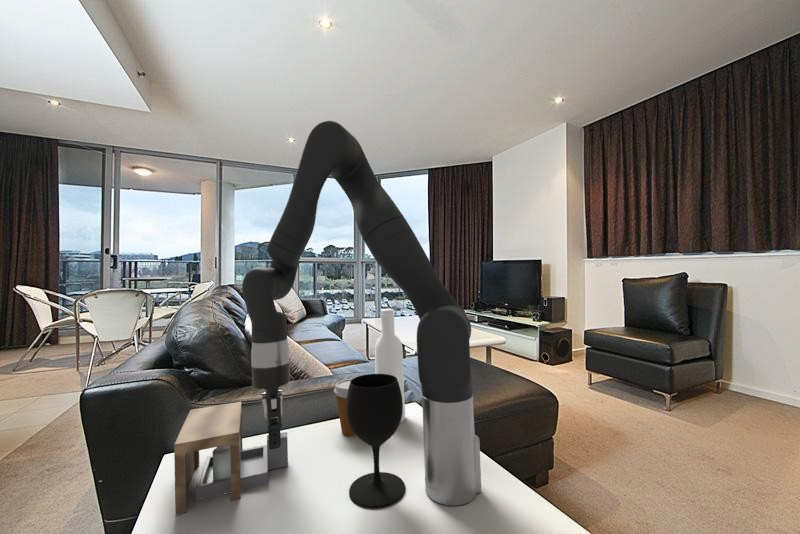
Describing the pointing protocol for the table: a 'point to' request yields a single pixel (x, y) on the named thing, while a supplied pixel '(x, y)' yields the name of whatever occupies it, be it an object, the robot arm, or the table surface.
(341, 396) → the disposable coffee cup
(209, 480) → the tray
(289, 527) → the table surface
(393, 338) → the bottle
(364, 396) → the wine glass
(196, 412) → the small wooden table
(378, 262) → the robot arm
